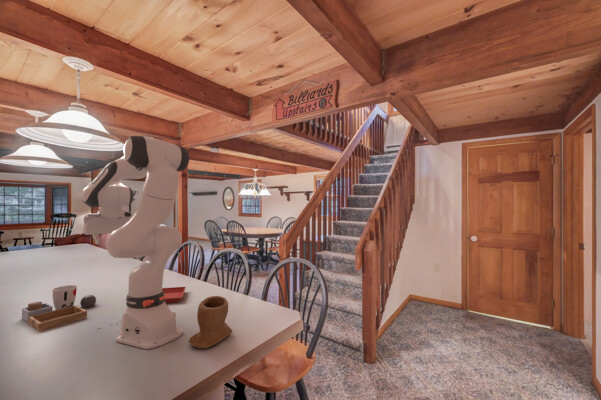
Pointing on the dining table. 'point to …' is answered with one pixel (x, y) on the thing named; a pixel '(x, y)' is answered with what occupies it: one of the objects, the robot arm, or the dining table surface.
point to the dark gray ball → (88, 301)
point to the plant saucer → (173, 294)
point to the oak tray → (57, 317)
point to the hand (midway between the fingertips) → (109, 242)
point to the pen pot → (35, 311)
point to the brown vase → (211, 322)
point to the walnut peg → (34, 306)
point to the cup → (64, 296)
